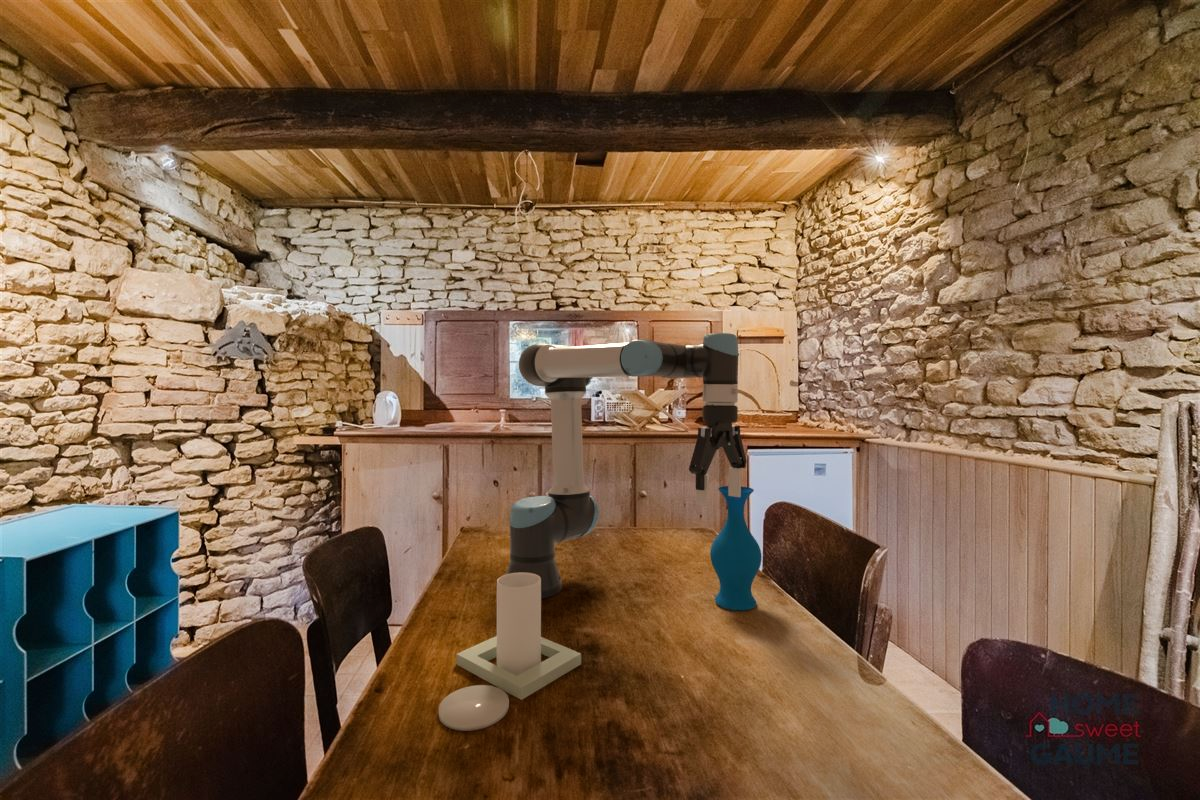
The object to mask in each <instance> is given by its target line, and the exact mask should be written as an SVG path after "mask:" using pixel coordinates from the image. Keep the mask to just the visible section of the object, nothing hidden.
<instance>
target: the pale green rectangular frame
mask: <svg viewBox="0 0 1200 800" xmlns="http://www.w3.org/2000/svg"><path fill="white" fill-rule="evenodd" d="M541 655H543V656H546V657H548V658H547V659H545V660H543V661H541V663H539V664H537V665H535V666H533V667H532V668H530V669H528V670H526V671H524V672H522V673H521V674H519V675H517V676H516V675H514V674H512V673H510V672H508V671H506V670H504V669H502V668H500V667H498V666H497V664H494V663H492V662H490V661H491V660H493V659H495V658H497V635H495V636H492V637H490V638H488V639H486V640H484V641H482V642H480V643H477V644H476V645H473V646H471V647H468V648H467V649H465V650H462V651H460V652H458V653H456V655H455V656H456V658H455V660H456V661H455V662H456V666H459V667H460V668H462V669H463V670H466V671H468V672H469V673H471V674H472V675H475V676H477V677H478V678H480V679H482V680H484V681H486V682H488V683H490V684H492V686H494V687H497V688H500V689H501V690H503V691H504V692H505V693H508V694H509V695H512V696H513V697H515V698H517V699H519V700H520V701H523V700H524V699H526V698H527V697H529V696H530V695H532V694H534V693H535V692H537V691H539V690H540V689H543V688H544V687H545V686H547V685H549V684H551V683H552V682H554V681H556V680H557V679H558V678H561V677H562V676H565V674H567V673H569V672H570V671H572V670H574V669H576V668H577V667H579V666H581V665H582V653H580V652H578V651H576V650H573V649H571V648H569V647H566V646H564V645H561V644H559V643H557V642H554V641H552V640H550V639H547V638H545V637H542V636H541Z"/></svg>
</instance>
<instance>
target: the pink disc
mask: <svg viewBox="0 0 1200 800" xmlns="http://www.w3.org/2000/svg"><path fill="white" fill-rule="evenodd" d="M509 698H510V697H509V695H508V694H507V692H506V691H504V690H502V689H500V688H499V687H497V686H495V685H489V684H488V685H487V684H476V685H469V686H466V687H462V688H460V689H456V690H454V691H453V692H451V693H449V694H447V696H446V697H444V698H443V699H442V700H441V702H440V703H439V706H438V720H439V721H440V722H441V723H442V725H443V726H445V727H447V728H449V729H451V730H455V731H463V732H468V731H478V730H483V729H485V728H488V727H491V726H493V725H494V724H496V723H498V722H499V721H501V719H503V718H504V717H505V716H506V715H507V714H508V711H509V709H510V699H509Z"/></svg>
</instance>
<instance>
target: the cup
mask: <svg viewBox="0 0 1200 800" xmlns="http://www.w3.org/2000/svg"><path fill="white" fill-rule="evenodd" d="M496 636H497V657H496V666H498V667H500V668H502V669H504V670H506V671H508V672H510V673H512V674H514V675H516V676H517V675H519V674H521V673H522V672H524V671H526V670H528V669H530V668H532V667H533V666H535V665H537V664H539V663H541V662H542V654H541V637H542V599H541V578H540V576H538V575H536V574H533V573H525V572H519V573H510V574H507V573H506V574H504V575H501V576H500V577H498V578H497V580H496Z"/></svg>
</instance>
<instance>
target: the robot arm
mask: <svg viewBox="0 0 1200 800" xmlns="http://www.w3.org/2000/svg"><path fill="white" fill-rule="evenodd" d="M739 356H740V353H739V339H738V337H737V336H736V335H735V334H734V333H730V332H728V333H727V332H715V333H713V332H712V333H709V334H708V333H707V334H705V335H704V336H703V341H702V343H700V344H685V345H684V344H681V345H680V344H674V343H666V342H658V341H653V340H649V339H632V340H631V341H629V342H619V343H607V344H606V343H605V344H592V345H580V346H579V345H577V346H573V345H560V344H559V345H558V344H551V343H550V344H548V343H534V344H532V345H530V346H529V345H528V346H527V347H526V348H525V349H524V350H523V351H522V352H521V354H520V357H519V359H518V368H519V369H518V370H519V373H520V375H521V377H522V378H523V379H524V380H525V381H526V382H527V383H528V384H530V385H533V386H536V387H543V388H544V395H545V396H546V397H547V398H548V399H549V401H550V414H551V415H550V416H551V417H550V418H551V421H550V422H551V447H552V448H551V449H552V451H551V454H552V479H553V480H552V481H553V485H552V486H551V488H549V490H548V495H535V496H528V497H527V496H526V497H525V498H521V499H519V500H517V501H515V502H513V504H512V506H511V508H510V514H509V515H510V517H509V520H508V521H509V563H508V566H507V571H506V574H510V573H519V572H525V573H533V574H536V575H538V576H540V578H541V600H542V599H547V598H551V597H553V596H556V595H557V594H559V593H560V592H561V591H562V578H561V575H560V572H559V569H558V565H557V562H556V558H555V557H556V549H555V548H556V544H560V543H563V542H566V541H571V540H573V539H579V538H582V537H584V536H586V535H588V534H589V533H591V532H592V531H594V529H595V528H596V526H597V524H598V522H599V518H600V517H599V516H600V511H599V505H598V503H597V502H596V499H595V498H594V497H593V496H592V495H591V493H590V491H591V490H590V488H589V487H588V486H587V485H586V484H585V475H584V474H585V473H584V450H583V449H584V445H583V422H582V420H583V419H582V418H583V416H582V398H583V397H584V396H585V395H586V394H587V386H589V384H591V382H592V381H591V380H593V378H614V377H615V378H617V377H618V378H619V377H621V378H622V377H623V378H624V377H635V378H636V377H659V378H664V379H665V378H666V379H674V380H675V379H687V378H688V379H689V378H690V379H691V378H702V403H704V405H703V406H702V421H703V422H705V423H707V425H706V426H699V427H698V429H697V438H696V442H695V446H694V449H693V452H692V457H691V460H690V463H689V467H688V472H690V473H691V474H694V475H695V505H696V506H697V505H698V506H703V507H709V506H710V505H709V504H710V502H709V501H710V492H709V491H710V475H709V474H707V473H708V471H709V468H710V466H711V464H712V461H713V459H714V457H715V454H716V452H717V450H719V449H720V448H722V449H723V451H724V453H725V456H726V458H727V460H728V462H729V465H730V466H729V467H728V486H729V488H728V496H734V497H741V486H742V469H746V467H747V465H746V464H747V462H748V461H747V457H746V453H745V448H744V444H743V440H742V436H741V426H740V425H737V424H735V423H737V421H738V419H739V418H738V415H739V414H738V413H739V408H738V406H737V405H736V403H738V394H739V393H740V392H739V391H740V390H739V386H738V384H739V381H738V380H739V378H738V377H739V376H738V374H739ZM733 423H734V424H733Z"/></svg>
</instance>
